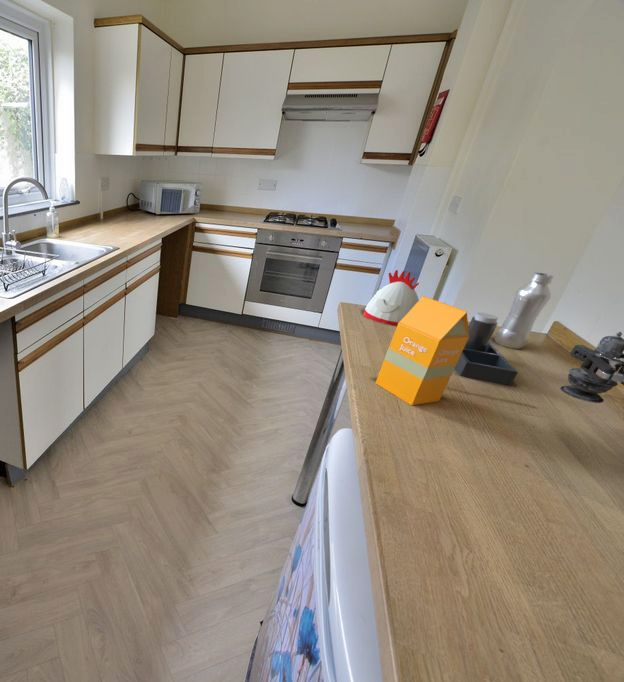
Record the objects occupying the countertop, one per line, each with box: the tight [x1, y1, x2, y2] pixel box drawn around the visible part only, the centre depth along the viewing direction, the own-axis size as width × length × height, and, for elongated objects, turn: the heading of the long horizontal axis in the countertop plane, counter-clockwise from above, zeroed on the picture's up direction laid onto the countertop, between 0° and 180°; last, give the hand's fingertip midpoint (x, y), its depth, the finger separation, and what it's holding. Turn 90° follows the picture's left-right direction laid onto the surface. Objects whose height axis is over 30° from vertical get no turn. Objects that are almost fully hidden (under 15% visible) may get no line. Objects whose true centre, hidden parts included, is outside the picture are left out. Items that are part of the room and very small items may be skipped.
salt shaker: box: [560, 331, 624, 404], centre depth 69 cm, size 6×6×12 cm
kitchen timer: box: [363, 269, 420, 327], centre depth 122 cm, size 14×14×15 cm
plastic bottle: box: [494, 272, 554, 350], centre depth 106 cm, size 6×7×20 cm
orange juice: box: [375, 295, 469, 406], centre depth 82 cm, size 8×9×20 cm
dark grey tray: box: [454, 341, 519, 387], centre depth 98 cm, size 9×17×4 cm, turn 156°
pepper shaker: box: [464, 312, 499, 352], centre depth 99 cm, size 5×5×11 cm
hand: (588, 350), depth 71 cm, fingers closed on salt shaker, 3 cm apart
